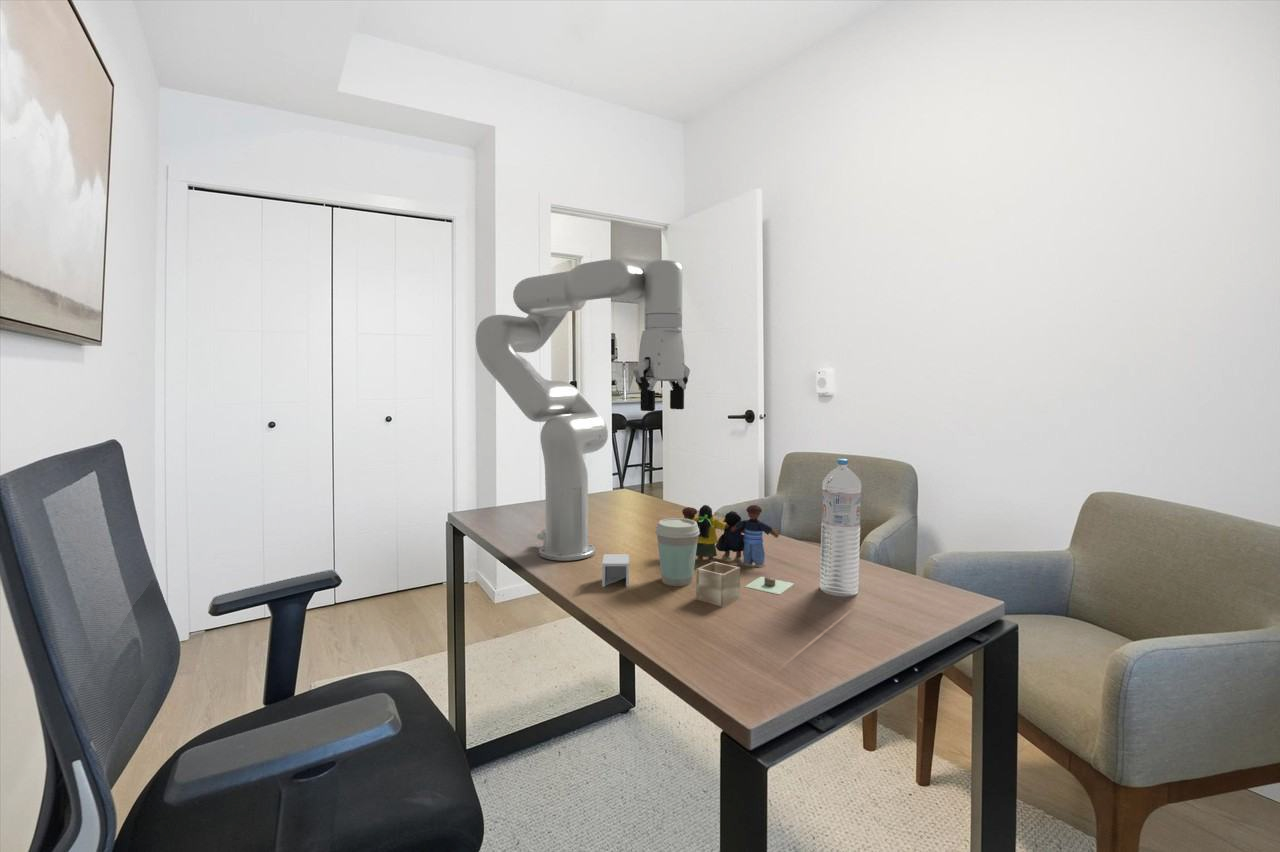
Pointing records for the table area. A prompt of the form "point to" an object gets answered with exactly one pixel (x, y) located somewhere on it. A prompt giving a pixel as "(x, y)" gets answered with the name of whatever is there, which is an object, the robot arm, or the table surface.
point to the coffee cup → (677, 550)
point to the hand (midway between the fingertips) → (662, 410)
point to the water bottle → (840, 532)
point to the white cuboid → (615, 568)
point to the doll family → (731, 535)
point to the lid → (770, 585)
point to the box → (718, 583)
